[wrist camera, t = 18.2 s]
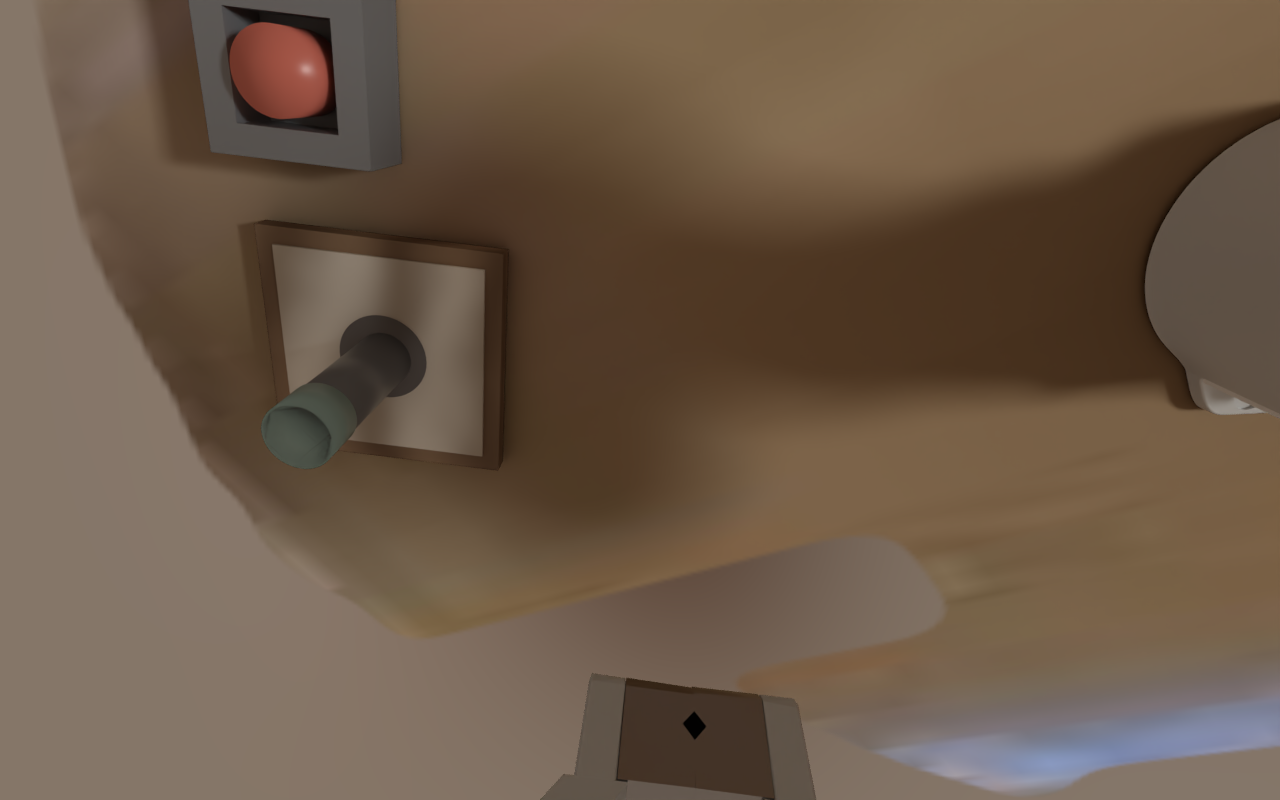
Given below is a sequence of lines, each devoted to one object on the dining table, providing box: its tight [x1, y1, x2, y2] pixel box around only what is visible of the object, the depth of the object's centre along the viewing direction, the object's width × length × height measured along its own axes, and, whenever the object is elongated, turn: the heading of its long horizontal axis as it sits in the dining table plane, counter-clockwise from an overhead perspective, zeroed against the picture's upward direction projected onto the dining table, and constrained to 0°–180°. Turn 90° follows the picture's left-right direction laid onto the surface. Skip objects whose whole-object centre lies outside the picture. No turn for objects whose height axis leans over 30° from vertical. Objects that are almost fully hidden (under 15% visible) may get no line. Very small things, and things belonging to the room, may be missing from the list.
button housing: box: [188, 0, 402, 171], centre depth 34 cm, size 8×8×4 cm
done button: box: [229, 22, 336, 119], centre depth 32 cm, size 4×4×3 cm
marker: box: [261, 333, 411, 469], centre depth 36 cm, size 3×3×10 cm
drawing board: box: [254, 220, 508, 470], centre depth 41 cm, size 14×14×2 cm
